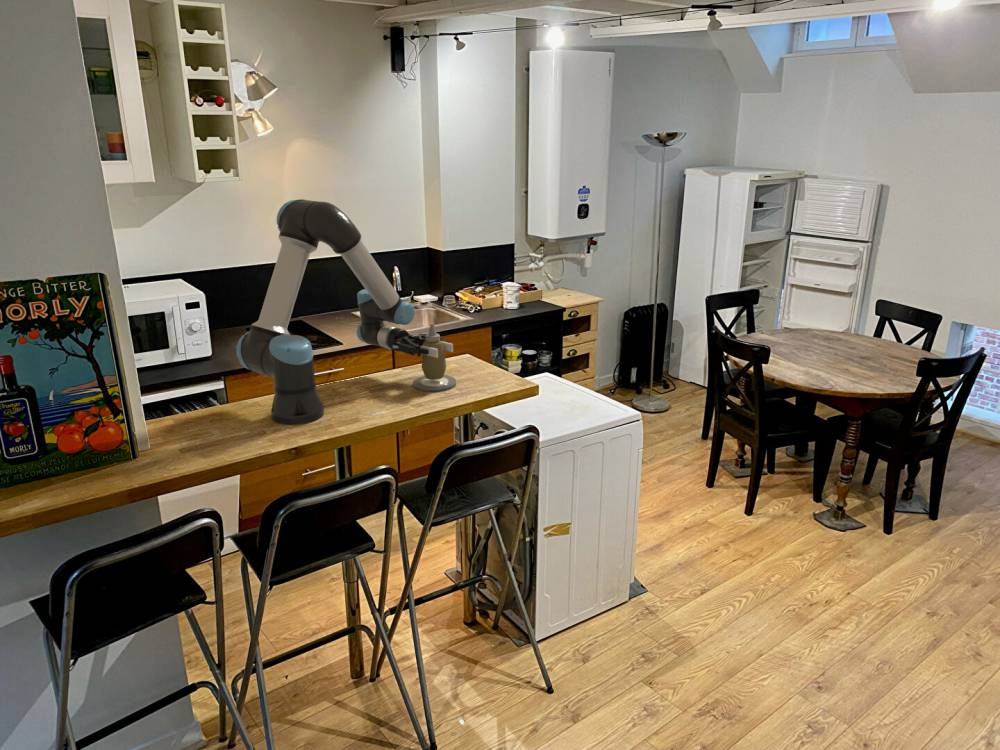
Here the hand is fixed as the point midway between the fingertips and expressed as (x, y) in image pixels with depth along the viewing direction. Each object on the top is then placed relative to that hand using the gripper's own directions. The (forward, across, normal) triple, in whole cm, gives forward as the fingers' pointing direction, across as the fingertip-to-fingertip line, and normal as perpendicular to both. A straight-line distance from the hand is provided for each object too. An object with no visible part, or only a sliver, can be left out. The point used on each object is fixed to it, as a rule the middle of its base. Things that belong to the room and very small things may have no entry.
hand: (444, 350), depth 241 cm
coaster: (-5, 0, -13) cm, 14 cm away
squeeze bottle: (-5, 0, -10) cm, 11 cm away
